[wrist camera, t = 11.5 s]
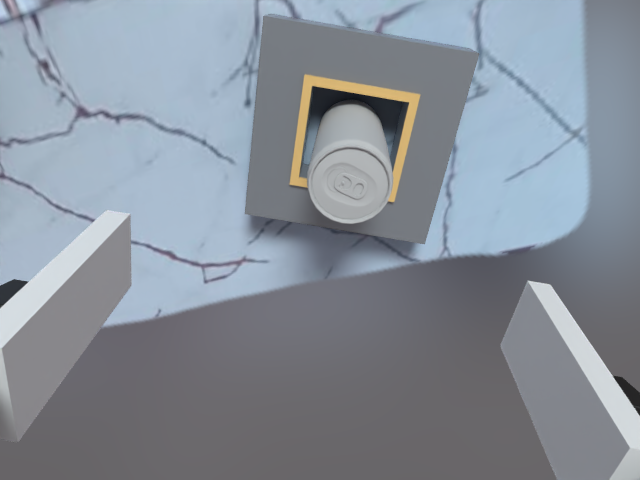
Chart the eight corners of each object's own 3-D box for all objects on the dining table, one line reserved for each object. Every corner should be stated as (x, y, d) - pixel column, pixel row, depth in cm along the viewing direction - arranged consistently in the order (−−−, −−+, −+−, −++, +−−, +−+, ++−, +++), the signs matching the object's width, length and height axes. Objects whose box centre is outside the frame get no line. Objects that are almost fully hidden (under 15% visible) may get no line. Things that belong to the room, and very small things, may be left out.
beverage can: (335, 86, 36) (327, 127, 25) (394, 114, 37) (411, 165, 26) (308, 145, 38) (291, 205, 27) (365, 170, 39) (369, 239, 28)
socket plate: (251, 199, 40) (243, 215, 38) (270, 13, 34) (262, 16, 31) (419, 227, 41) (425, 246, 38) (469, 48, 34) (480, 53, 31)
